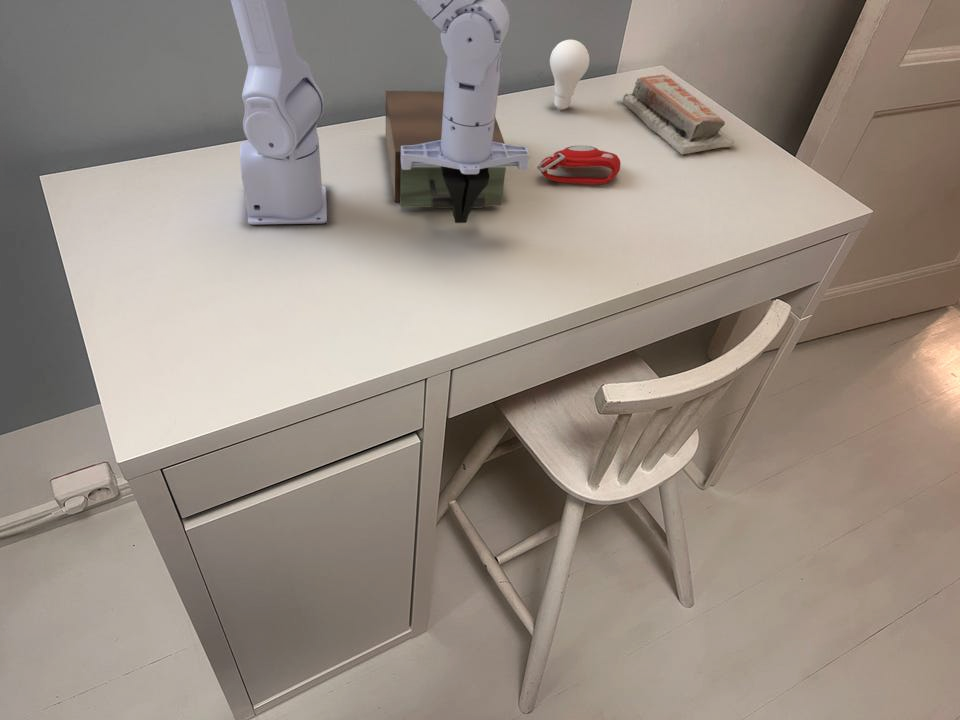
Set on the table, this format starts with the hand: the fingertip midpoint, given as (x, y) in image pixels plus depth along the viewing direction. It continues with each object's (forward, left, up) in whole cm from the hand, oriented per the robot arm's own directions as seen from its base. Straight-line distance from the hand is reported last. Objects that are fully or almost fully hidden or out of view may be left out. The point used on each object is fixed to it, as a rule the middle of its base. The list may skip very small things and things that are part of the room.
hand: (459, 218), depth 88 cm
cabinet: (0, +17, -3) cm, 17 cm away
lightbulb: (+22, +35, -4) cm, 41 cm away
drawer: (0, +11, -3) cm, 12 cm away
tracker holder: (+19, +16, -4) cm, 25 cm away
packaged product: (+40, +30, -4) cm, 50 cm away
